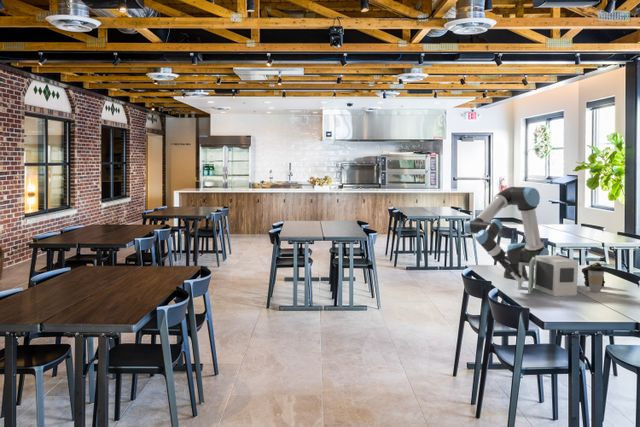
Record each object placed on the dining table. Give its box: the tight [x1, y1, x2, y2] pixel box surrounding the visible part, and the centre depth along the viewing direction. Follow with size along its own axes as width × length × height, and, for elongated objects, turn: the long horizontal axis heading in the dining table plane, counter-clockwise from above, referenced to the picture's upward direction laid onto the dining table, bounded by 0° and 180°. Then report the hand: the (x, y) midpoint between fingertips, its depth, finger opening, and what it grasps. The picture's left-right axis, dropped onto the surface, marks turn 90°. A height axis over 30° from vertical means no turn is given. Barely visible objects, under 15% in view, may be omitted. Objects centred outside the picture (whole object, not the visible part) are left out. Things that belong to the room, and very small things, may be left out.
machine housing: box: [533, 254, 579, 297], centre depth 331 cm, size 23×14×20 cm, turn 9°
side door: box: [517, 257, 535, 294], centre depth 333 cm, size 23×7×18 cm, turn 154°
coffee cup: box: [587, 265, 605, 294], centre depth 333 cm, size 9×9×15 cm
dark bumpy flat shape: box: [581, 262, 606, 288], centre depth 348 cm, size 4×13×15 cm, turn 86°
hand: (521, 280), depth 328 cm, fingers open, 5 cm apart
